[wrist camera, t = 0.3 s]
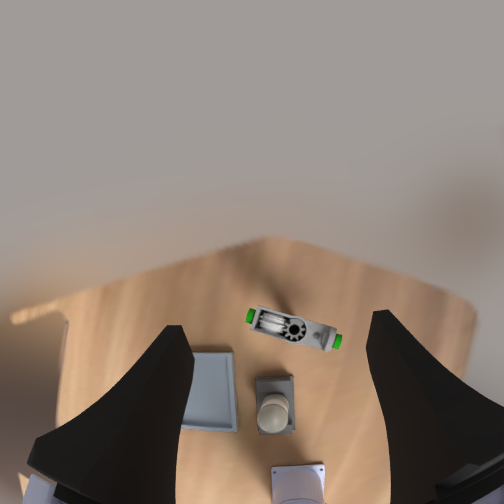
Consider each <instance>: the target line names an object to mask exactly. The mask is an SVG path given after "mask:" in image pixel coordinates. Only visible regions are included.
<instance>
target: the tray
mask: <svg viewBox="0 0 504 504" xmlns="http://www.w3.org/2000/svg"><path fill="white" fill-rule="evenodd" d="M192 353H193V355H194V358H195V364H194V373H193V381H192V385H191V390H190V394H189V398H188V402H187V405H186V409H185V413H184V417H183V421H182V425H181V428H185V429H194V430H205V431H220V432H237V431H238V429H239V425H238V411H237V397H236V382H235V366H234V352H192Z"/></svg>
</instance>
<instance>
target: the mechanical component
mask: <svg viewBox="0 0 504 504" xmlns="http://www.w3.org/2000/svg"><path fill="white" fill-rule="evenodd" d="M246 322H247V323H250V324H252V325H251V328H250V330H252V331H255V332H259V333H262V334H265V335H268V336H271V337H274V338H278V339H281V340H284V341H286V342H287V343H289V344H301V345H307V346H310V347H314V348H318V349H321V350H323V351H327V352H329V351H330V350H331V348H335V349H338V348H339V347H340V344H341V341H342V335H340V334H336V331H337V329H336V328H334V327H331V326H327V325H323V324H320V323H316V322H313V321H309V320H306V319H303V318H302V317H300V316H296V315H293V316H292V315H289V314H286V313H282V312H279V311H276V310H272V309H269V308H266V307H262V306H259V305H258V307H257V310H254V309H251V308H250V309H249V311H248V314H247V317H246Z"/></svg>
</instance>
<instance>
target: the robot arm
mask: <svg viewBox="0 0 504 504" xmlns="http://www.w3.org/2000/svg"><path fill="white" fill-rule="evenodd" d="M366 352H367V358H368V363H369V368H370V372H371V375H372V379H373V382H374V385H375V389H376V392H377V395H378V399H379V402H380V405H381V409H382V412H383V416H384V420H385V424H386V430H387V438H388V445H389V456H390V471H391V502H390V504H504V407H503V406H501V405H499V404H497V403H495V402H493V401H491V400H490V399H488V398H486V397H484V396H483V395H482V394H480V393H478V392H477V391H475V390H474V389H473V388H471V387H470V386H468V385H467V384H465V383H464V382H463V381H461V380H460V379H459V378H458V377H456V376H455V375H454V374H453V373H451V372H450V371H449V370H448V369H447V368H445V367H444V366H443V365H442V364H441V363H440V362H439V361H438V360H437V359H436V358H434V357H433V356H432V355H431V354H430V353H429V352H428V351H427V350H426V349H425V348H424V347H423V346H422V345H421V344H420V343H419V342H418V341H417V340H416V339H415V337H414V336H413V335H412V334H411V333H410V332H409V331H408V330H407V329H406V328H405V327H404V326H403V325H402V324H401V322H400V321H399V320H398V319H397V318H396V317H395V316H394V315H393V314H392V313H391V312H390V311H389V310H388V309H387V310H381V311H373V316H372V321H371V326H370V330H369V335H368V340H367V344H366ZM194 364H195V358H194V355H193V353H192V351H191V348H190V346H189V343H188V341H187V338H186V336H185V333H184V331H183V328H182V326H181V325H167V326H166V327H165V328H164V330H163V331H162V332H161V333H160V334H159V335H158V337H157V338H156V339H155V340H154V342H153V343H152V344H151V345H150V346H149V348H148V349H147V350H146V351H145V352H144V354H143V355H142V356H141V357H140V358H139V359H138V361H137V362H136V363H135V364H134V365H133V366H132V367H131V369H130V370H129V371H128V372H127V373H126V374H125V375H124V376H123V377H122V378H121V379H120V380H119V381H118V382H117V383H116V384H115V385H114V386H113V387H112V388H111V389H110V390H109V391H108V392H107V393H106V394H105V395H104V396H102V397H101V398H100V399H99V400H98V401H97V402H95V403H94V404H93V405H91V406H90V407H89V408H87V409H86V410H85V411H84V412H82V413H81V414H79V415H78V416H77V417H75V418H73V419H72V420H70V421H69V422H67V423H65V424H64V425H62V426H60V427H59V428H57V429H55V430H53V431H51V432H49V433H47V434H45V435H43V436H40V437H38V438H36V441H35V443H34V445H33V448H32V450H31V453H30V455H29V458H28V461H27V464H28V465H29V466H30V467H32V468H34V469H35V470H37V471H38V472H40V473H42V474H43V475H45V476H47V477H48V478H50V479H52V480H54V481H56V482H57V486H56V487H55V486H53V485H52V484H50V483H48V482H46V481H44V480H43V479H41V478H39V477H38V476H36V475H34V474H32V475H31V477H30V480H29V483H28V486H27V489H26V492H25V495H24V498H23V502H22V504H176V500H175V483H176V463H177V452H178V443H179V435H180V430H181V425H182V421H183V417H184V413H185V409H186V405H187V402H188V398H189V394H190V390H191V385H192V381H193V373H194ZM321 468H322V470H320V469H321ZM274 471H276V472H275V473H274ZM324 475H325V465H324V464H314V465H302V466H280V467H272V469H271V476H272V504H324V497H323V492H324ZM325 504H326V503H325Z"/></svg>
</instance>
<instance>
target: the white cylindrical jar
mask: <svg viewBox="0 0 504 504" xmlns="http://www.w3.org/2000/svg"><path fill="white" fill-rule="evenodd" d="M288 409H289V402H288V400H287V398H286V397H285V396H284V395H282V394H279V393H272V394H269V395H267V396H266V397H265V398H264V400H263V402H262V406H261V409H260V411H259V413H258V416H257V423H258V425H259V427H260V428H261V429H262V430H264V431H266V432H269V433H276V432H279V431H281V430H283V429H284V428H285V427H286V425H287V423H288Z"/></svg>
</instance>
